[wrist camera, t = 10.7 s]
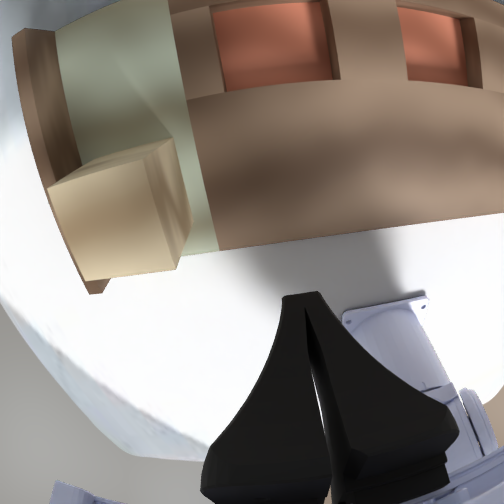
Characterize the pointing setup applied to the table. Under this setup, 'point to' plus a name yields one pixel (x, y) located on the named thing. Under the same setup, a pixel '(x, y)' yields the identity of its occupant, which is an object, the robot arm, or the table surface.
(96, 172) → the pine block
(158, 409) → the table surface
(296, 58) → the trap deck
